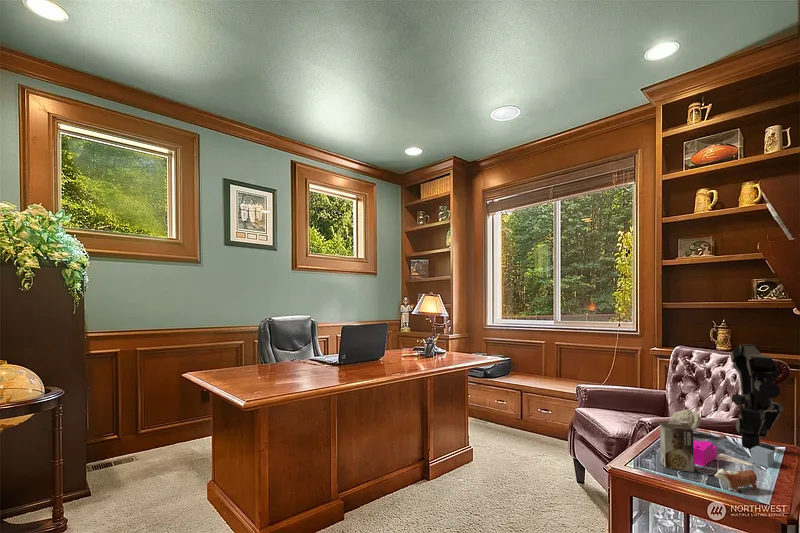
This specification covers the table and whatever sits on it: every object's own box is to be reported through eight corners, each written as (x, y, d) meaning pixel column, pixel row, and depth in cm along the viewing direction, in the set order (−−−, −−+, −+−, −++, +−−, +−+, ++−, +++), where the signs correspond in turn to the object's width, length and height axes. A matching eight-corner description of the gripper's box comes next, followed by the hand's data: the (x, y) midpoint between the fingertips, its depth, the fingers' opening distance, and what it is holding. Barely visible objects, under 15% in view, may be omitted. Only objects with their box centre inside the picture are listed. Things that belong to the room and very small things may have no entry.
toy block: (703, 450, 149) (679, 444, 155) (704, 468, 149) (680, 460, 155) (716, 439, 158) (693, 433, 164) (717, 456, 158) (694, 449, 164)
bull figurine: (712, 491, 134) (711, 466, 134) (750, 489, 135) (749, 464, 135) (723, 499, 129) (723, 473, 129) (763, 496, 130) (762, 470, 130)
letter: (721, 453, 160) (721, 453, 160) (753, 464, 151) (753, 464, 151) (705, 460, 154) (705, 460, 154) (736, 472, 146) (736, 472, 146)
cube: (757, 458, 156) (757, 445, 156) (774, 464, 151) (773, 450, 151) (750, 461, 153) (750, 448, 153) (767, 467, 149) (767, 453, 149)
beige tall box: (688, 467, 150) (687, 422, 150) (694, 475, 144) (694, 429, 144) (659, 463, 153) (659, 420, 153) (664, 471, 147) (664, 426, 147)
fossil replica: (665, 427, 186) (665, 405, 186) (680, 426, 188) (680, 404, 188) (690, 438, 174) (689, 415, 174) (705, 436, 176) (705, 413, 176)
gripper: (747, 381, 164) (748, 420, 164) (723, 388, 155) (723, 429, 155) (783, 388, 154) (784, 430, 154) (759, 396, 145) (760, 440, 145)
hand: (761, 432), depth 152 cm, fingers open, 9 cm apart
